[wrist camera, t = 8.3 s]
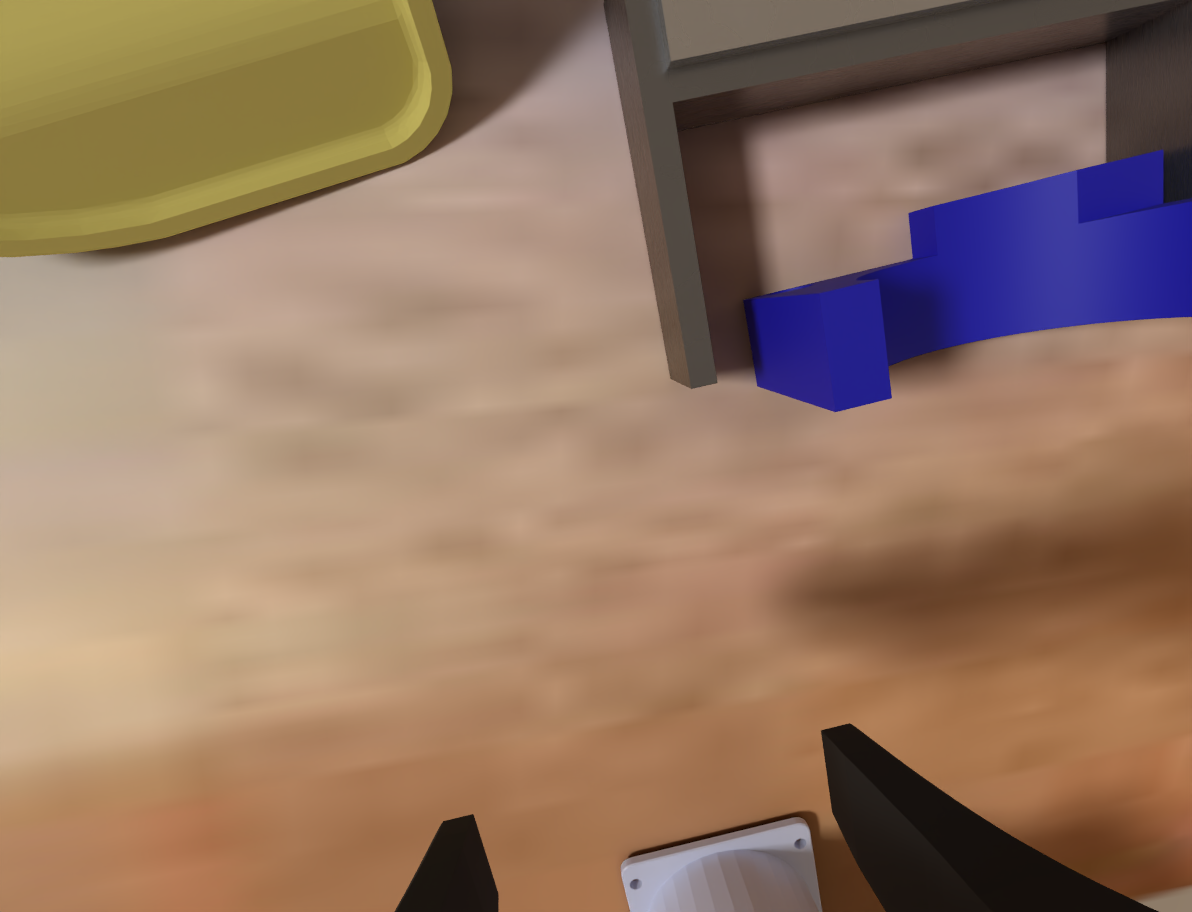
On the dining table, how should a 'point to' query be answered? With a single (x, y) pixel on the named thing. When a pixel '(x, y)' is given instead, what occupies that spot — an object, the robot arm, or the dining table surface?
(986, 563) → the dining table surface
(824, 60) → the rack
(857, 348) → the blue arched block
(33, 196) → the plastic component
